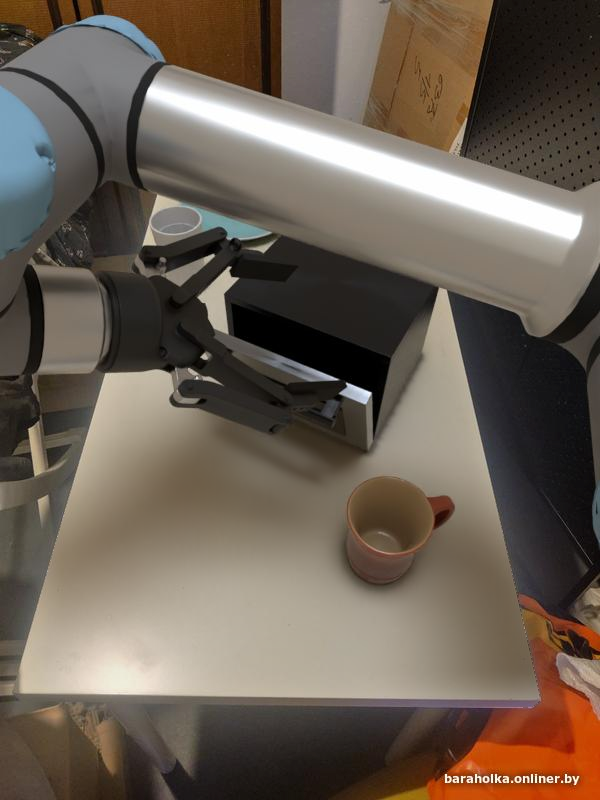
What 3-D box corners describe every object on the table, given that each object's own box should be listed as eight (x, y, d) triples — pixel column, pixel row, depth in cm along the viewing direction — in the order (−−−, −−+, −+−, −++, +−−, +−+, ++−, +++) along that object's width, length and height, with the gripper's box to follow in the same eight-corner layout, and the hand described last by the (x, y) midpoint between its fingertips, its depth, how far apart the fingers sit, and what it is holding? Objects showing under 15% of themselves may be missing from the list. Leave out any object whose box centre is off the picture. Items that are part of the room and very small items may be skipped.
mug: (355, 604, 59) (366, 566, 51) (328, 532, 64) (334, 488, 56) (455, 572, 61) (480, 531, 53) (420, 505, 67) (439, 459, 59)
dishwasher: (373, 441, 72) (391, 357, 60) (233, 380, 79) (223, 293, 66) (420, 355, 83) (444, 269, 70) (293, 308, 89) (294, 221, 77)
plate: (313, 236, 102) (314, 223, 100) (197, 261, 96) (195, 248, 94) (273, 178, 115) (272, 165, 113) (168, 198, 109) (166, 184, 107)
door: (357, 473, 71) (352, 431, 56) (215, 408, 77) (178, 356, 63) (373, 441, 72) (372, 392, 58) (232, 380, 78) (200, 322, 64)
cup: (160, 272, 94) (146, 209, 85) (206, 265, 96) (197, 202, 87) (165, 301, 89) (151, 238, 80) (213, 293, 91) (205, 230, 82)
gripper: (50, 221, 46) (255, 249, 60) (115, 500, 39) (334, 460, 52) (72, 154, 41) (292, 201, 54) (153, 461, 33) (386, 428, 47)
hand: (313, 328), depth 53 cm, fingers open, 13 cm apart
